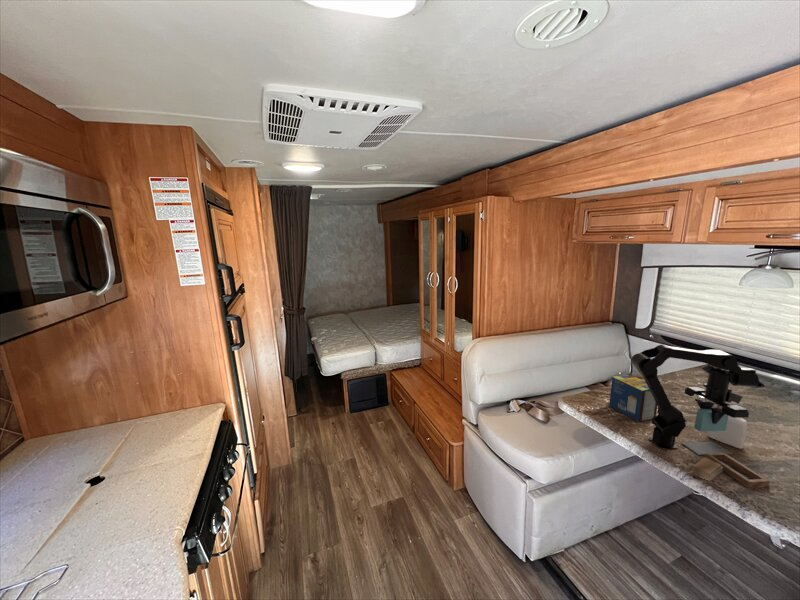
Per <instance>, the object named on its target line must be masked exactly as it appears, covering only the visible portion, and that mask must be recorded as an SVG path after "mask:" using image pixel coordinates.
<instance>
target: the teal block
mask: <svg viewBox="0 0 800 600" xmlns="http://www.w3.org/2000/svg"><path fill="white" fill-rule="evenodd" d="M695 415H696V417H695V421H694V427H693V428H694V429H695V430H696V431H699V432H708V431H726V426H727V421H728V415H726V414H725V415H724V416H723V417H722V418H721V419H720V420H719V421H718V422H717V423H716V424H713V423H712V411H711V409H700V408H697V410H696V414H695Z"/></svg>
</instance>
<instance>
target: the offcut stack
mask: <svg viewBox="0 0 800 600" xmlns="http://www.w3.org/2000/svg"><path fill="white" fill-rule="evenodd" d="M723 472H724V471H723V467H722V466H721V464H719V463H716V462H714V461H712V460H710V459H708V458H705V457H703V458H702V459H701V460H699V461H698V462H696V463H695V464H694V465H692V469H691V470H690V473H691V474H693V475H695V476H696V477H698V476H699V478H701V479H702V480H704V479H705V480H704V481H706V480H708V481H710V480H711V481H712V480H714V479H715V478H716V477H718V475H720V474H721V473H723ZM708 481H707V482H708ZM711 481H710V482H711Z"/></svg>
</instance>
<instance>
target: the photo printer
mask: <svg viewBox="0 0 800 600" xmlns="http://www.w3.org/2000/svg"><path fill="white" fill-rule="evenodd" d="M747 429H748V422H747V420H746V419H744V418H733V417H730V416H728V421H727V426H726V431H707V436H708V438H711V439H713V440H716V441H718V442H721V443H723V444H726V445H729V446H731V447H733V448H737V449H741V450H742V449H743V448H744V445H745V440H746V433H747Z"/></svg>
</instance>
